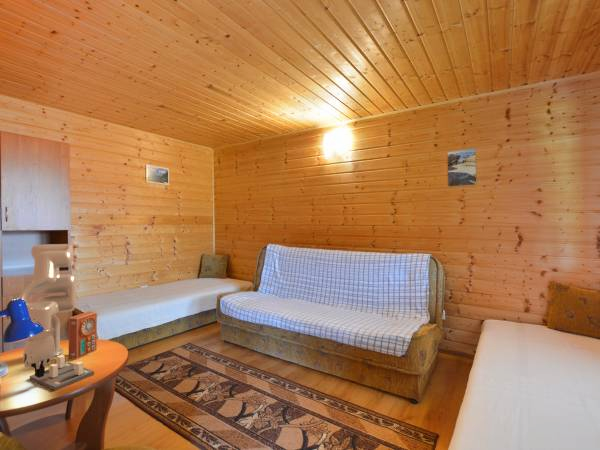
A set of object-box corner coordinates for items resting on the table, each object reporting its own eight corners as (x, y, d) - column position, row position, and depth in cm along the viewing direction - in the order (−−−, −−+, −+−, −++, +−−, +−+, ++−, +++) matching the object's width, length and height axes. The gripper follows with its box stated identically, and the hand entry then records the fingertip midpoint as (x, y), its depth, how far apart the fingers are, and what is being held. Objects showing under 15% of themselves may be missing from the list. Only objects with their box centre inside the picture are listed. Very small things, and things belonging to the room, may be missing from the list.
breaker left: (56, 366, 150) (56, 356, 150) (61, 365, 151) (61, 354, 151) (60, 368, 148) (60, 357, 148) (64, 366, 150) (64, 356, 150)
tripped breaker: (49, 376, 140) (49, 365, 140) (54, 374, 142) (54, 363, 142) (52, 377, 139) (53, 366, 139) (58, 375, 141) (58, 364, 141)
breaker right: (74, 373, 143) (74, 362, 143) (79, 371, 145) (79, 361, 145) (78, 375, 142) (78, 364, 142) (83, 373, 144) (83, 362, 143)
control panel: (99, 349, 175) (75, 360, 161) (89, 348, 177) (64, 359, 162) (100, 311, 175) (76, 319, 161) (89, 310, 177) (64, 318, 162)
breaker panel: (29, 379, 141) (29, 375, 141) (68, 365, 156) (68, 361, 156) (55, 390, 132) (55, 386, 132) (94, 374, 146) (94, 371, 146)
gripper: (54, 328, 144) (54, 367, 144) (14, 338, 131) (13, 382, 131) (64, 330, 141) (63, 371, 141) (23, 341, 127) (22, 386, 127)
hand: (39, 376), depth 136 cm, fingers closed
